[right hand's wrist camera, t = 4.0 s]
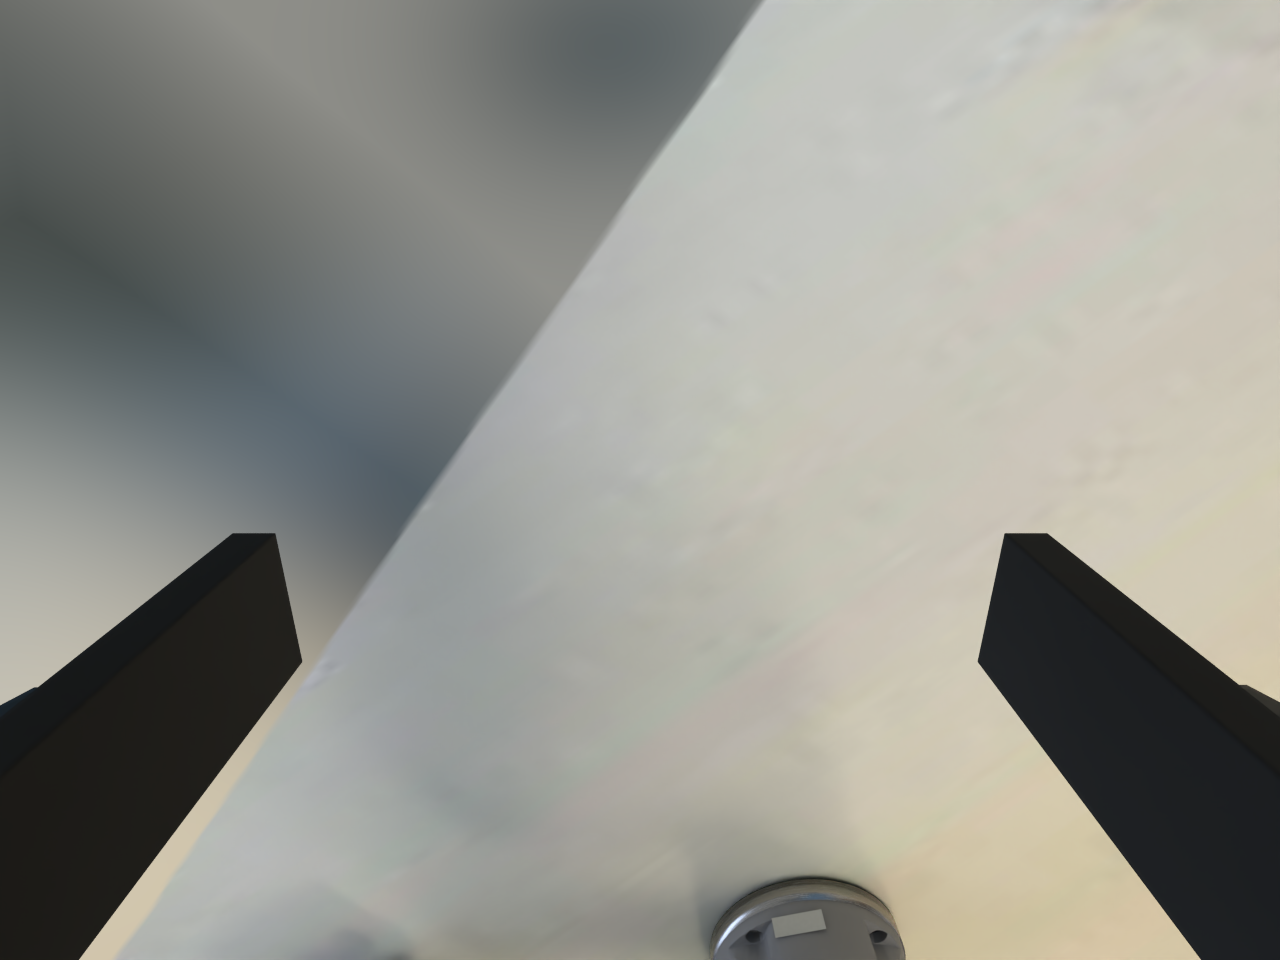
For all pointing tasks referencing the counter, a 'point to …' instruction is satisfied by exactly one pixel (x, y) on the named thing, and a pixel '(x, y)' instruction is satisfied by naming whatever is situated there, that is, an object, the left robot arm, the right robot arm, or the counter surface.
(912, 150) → the counter surface
